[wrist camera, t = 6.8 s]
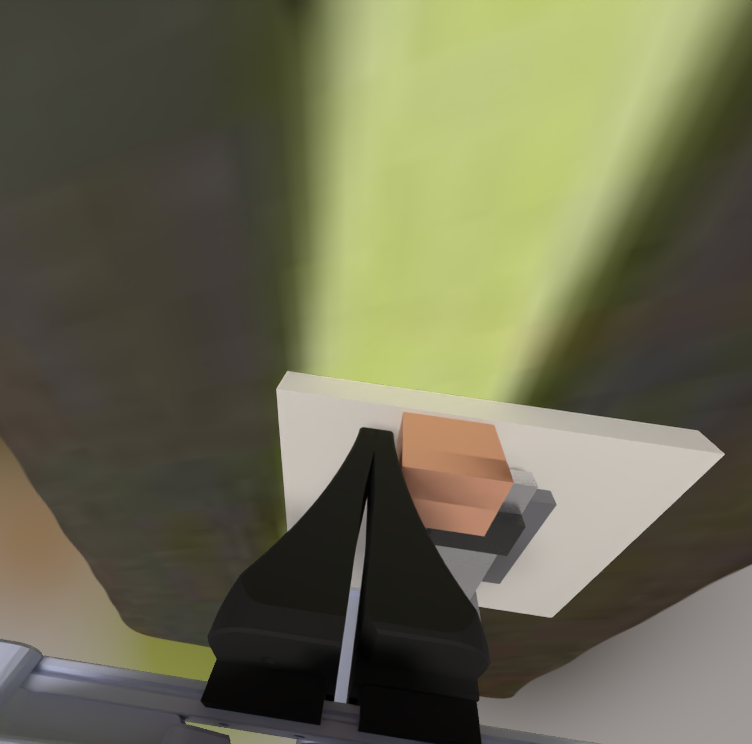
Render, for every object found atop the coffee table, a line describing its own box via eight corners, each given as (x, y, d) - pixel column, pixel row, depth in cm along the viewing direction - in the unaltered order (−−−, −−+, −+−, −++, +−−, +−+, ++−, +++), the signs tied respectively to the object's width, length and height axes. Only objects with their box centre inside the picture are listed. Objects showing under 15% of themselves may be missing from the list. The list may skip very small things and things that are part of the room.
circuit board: (544, 595, 25) (566, 663, 21) (297, 557, 25) (279, 618, 21) (698, 430, 15) (785, 507, 11) (287, 370, 15) (251, 429, 12)
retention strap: (455, 601, 22) (459, 631, 20) (399, 592, 22) (398, 621, 20) (529, 467, 14) (543, 498, 13) (444, 454, 14) (448, 484, 13)
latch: (471, 476, 15) (484, 536, 13) (392, 465, 15) (388, 522, 13) (494, 425, 13) (514, 482, 11) (403, 411, 14) (402, 466, 11)
